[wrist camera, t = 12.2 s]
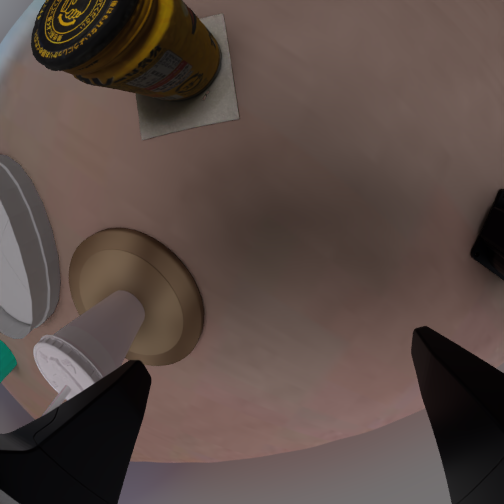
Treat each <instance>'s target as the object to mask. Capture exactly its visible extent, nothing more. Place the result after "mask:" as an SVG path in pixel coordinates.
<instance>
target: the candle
mask: <svg viewBox="0 0 504 504" xmlns="http://www.w3.org/2000/svg"><path fill="white" fill-rule="evenodd" d="M16 365H17V362H16V359H15V357H14V355H13V354H12V352H11V351H10V349H9V348H8V347H7V346H6V345H5V344H4V343H3V342H2V341H1V340H0V383H1V382H2V381H3V379H4V378H5V377H6V376H7V375H8V374H9V373H10V372H11V371H12V370H13V369H14V368H15V366H16Z"/></svg>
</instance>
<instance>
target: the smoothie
mask: <svg viewBox="0 0 504 504" xmlns="http://www.w3.org/2000/svg"><path fill="white" fill-rule="evenodd" d="M144 318H145V311H144V308H143V306H142V304H141V303H140V301H139V300H138V299H137V298H136V297H135V296H134V295H132V294H131V293H129V292H127V291H122V290H119V291H116V292H114V293H112V294H111V295H109V296H108V297H106V298H105V299H104V300H102V301H101V302H99V303H98V304H96V305H95V306H93V307H92V308H90V309H89V310H87V311H86V312H85V313H83V314H82V315H80V316H79V317H77V318H76V319H74V320H73V321H72V322H70V323H69V324H67V325H66V326H65V327H63V328H61V329H60V330H59V331H57V332H56V333H55V334H53V335H45V336H43V337H42V338H41V339H40V341H39V342H38V343H37V344H36V345H35V347H34V351H33V352H34V358H35V361H36V364H37V366H38V368H39V370H40V372H41V373H42V375H43V376H44V378H45V379H46V380H47V382H48V383H49V384H50V385H51V386H52V387H53V388H54V389H55V390H56V391H57V392H58V393H59V394H58V395H57V396H56V398H55V399H54V400H53V402H52V403H51V404H50V406H49V407H48V408H47V410H46V411H45V412H44V414H43V415H45V414H47V413H48V412H50V411H52V410H53V409H55V408H56V407H58V406H60V405H61V404H62V402H63V401H64V400H65V399H66V400H69V399H71V398H72V397H74V396H75V395H77V394H79V393H80V392H82V391H83V390H85V389H86V388H88V387H89V386H91V385H93V384H94V383H96V382H97V381H99V380H100V379H102V378H103V377H105V376H106V375H108V374H109V373H111V372H113V371H114V370H116V369H117V368H119V367H120V366H121V365H122V362H123V360H124V358H125V356H126V354H127V352H128V350H129V348H130V346H131V344H132V342H133V340H134V338H135V336H136V334H137V332H138V330H139V328H140V327H141V325H142V323H143V321H144ZM43 415H42V416H43ZM42 416H41V417H42Z"/></svg>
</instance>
